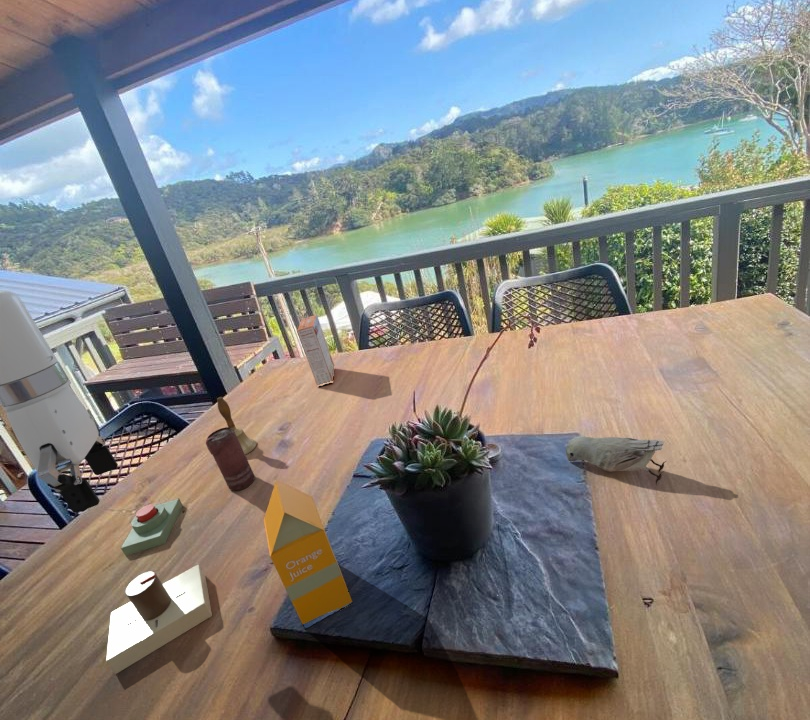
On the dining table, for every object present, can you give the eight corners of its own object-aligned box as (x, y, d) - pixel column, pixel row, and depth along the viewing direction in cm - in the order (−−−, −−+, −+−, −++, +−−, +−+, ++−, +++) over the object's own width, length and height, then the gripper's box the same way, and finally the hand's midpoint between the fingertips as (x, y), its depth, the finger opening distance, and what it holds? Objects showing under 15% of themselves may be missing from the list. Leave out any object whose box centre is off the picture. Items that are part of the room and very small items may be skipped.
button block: (165, 543, 88) (156, 529, 87) (125, 556, 88) (116, 541, 86) (183, 505, 99) (175, 491, 98) (148, 516, 99) (140, 502, 97)
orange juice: (304, 630, 63) (254, 526, 55) (294, 586, 70) (249, 489, 63) (354, 603, 65) (312, 498, 57) (339, 563, 73) (300, 466, 65)
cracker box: (319, 372, 157) (300, 318, 149) (335, 368, 157) (317, 313, 149) (316, 388, 144) (295, 330, 136) (334, 384, 144) (314, 325, 136)
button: (153, 519, 91) (150, 513, 90) (136, 524, 90) (132, 518, 90) (160, 508, 94) (156, 502, 93) (143, 513, 94) (139, 507, 93)
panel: (115, 674, 63) (104, 660, 62) (119, 624, 72) (110, 611, 71) (212, 616, 69) (204, 602, 68) (205, 575, 77) (198, 563, 76)
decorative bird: (571, 453, 84) (568, 420, 81) (668, 469, 74) (667, 433, 71) (563, 470, 80) (559, 436, 77) (663, 490, 70) (663, 452, 68)
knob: (141, 626, 67) (123, 600, 64) (141, 606, 70) (125, 580, 68) (171, 608, 68) (155, 582, 66) (170, 590, 72) (154, 564, 70)
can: (224, 488, 102) (199, 438, 97) (248, 472, 106) (225, 423, 101) (235, 496, 98) (210, 445, 93) (260, 479, 102) (237, 429, 96)
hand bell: (235, 442, 122) (213, 393, 116) (262, 438, 120) (240, 388, 114) (220, 460, 114) (195, 408, 109) (248, 457, 113) (224, 404, 107)
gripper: (29, 375, 64) (89, 468, 70) (-39, 423, 48) (46, 538, 55) (84, 357, 66) (137, 450, 72) (36, 399, 50) (109, 512, 56)
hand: (98, 488), depth 63 cm, fingers open, 9 cm apart
